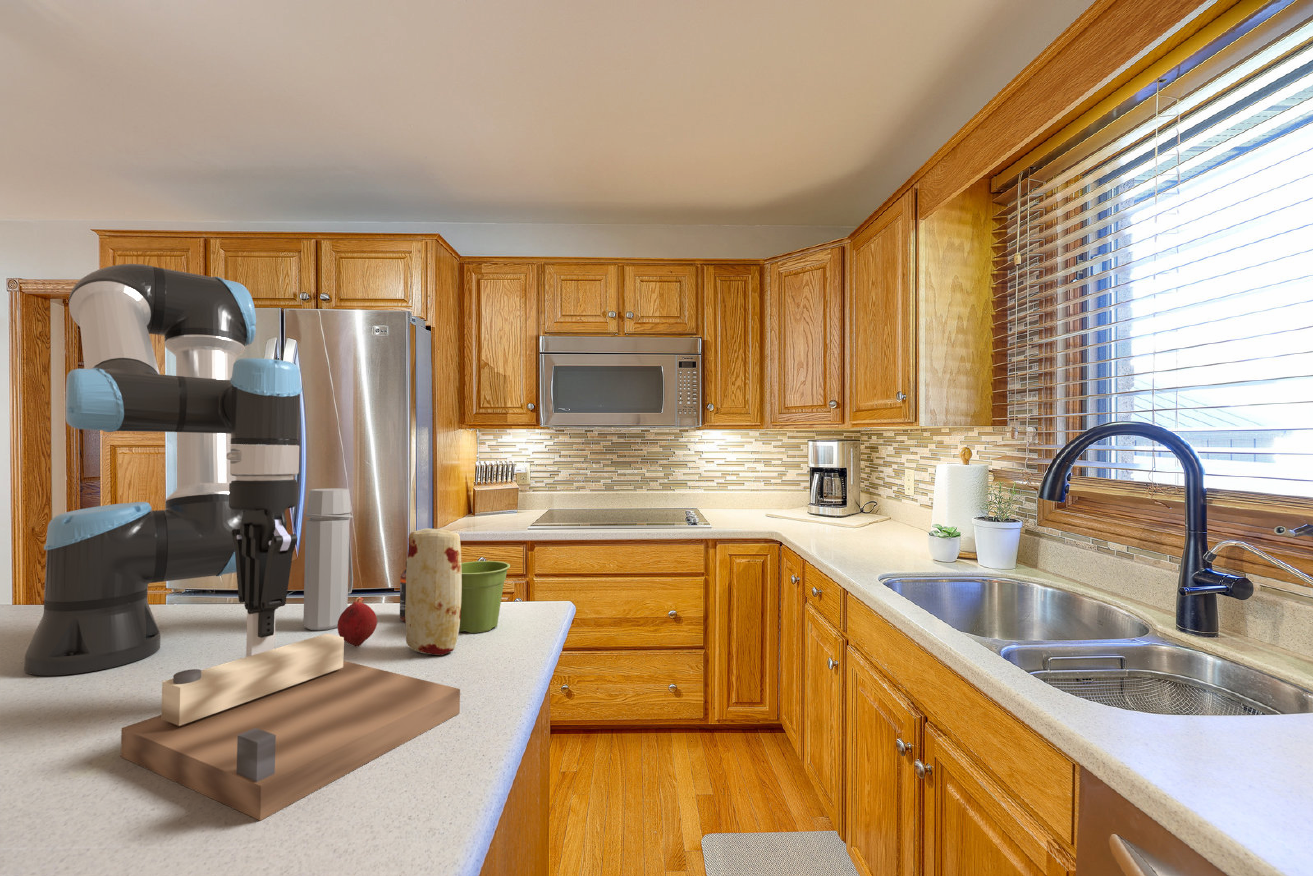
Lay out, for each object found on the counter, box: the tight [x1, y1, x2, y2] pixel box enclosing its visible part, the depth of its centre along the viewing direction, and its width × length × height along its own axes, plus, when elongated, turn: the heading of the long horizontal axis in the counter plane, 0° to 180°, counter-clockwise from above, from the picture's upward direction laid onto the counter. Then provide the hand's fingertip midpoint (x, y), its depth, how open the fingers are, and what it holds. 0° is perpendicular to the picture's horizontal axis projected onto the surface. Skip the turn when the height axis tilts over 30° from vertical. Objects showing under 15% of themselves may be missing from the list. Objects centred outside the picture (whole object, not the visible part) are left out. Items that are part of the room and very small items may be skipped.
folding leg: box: [160, 633, 345, 726], centre depth 72 cm, size 19×4×5 cm, turn 154°
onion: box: [337, 596, 378, 648], centre depth 98 cm, size 6×6×8 cm
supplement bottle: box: [399, 560, 407, 623], centre depth 114 cm, size 6×6×11 cm
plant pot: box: [459, 560, 511, 634], centre depth 109 cm, size 12×12×11 cm
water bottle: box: [302, 487, 355, 631], centre depth 110 cm, size 9×8×25 cm
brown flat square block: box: [120, 660, 461, 821], centre depth 68 cm, size 24×24×6 cm
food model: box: [405, 527, 462, 656], centre depth 96 cm, size 10×7×20 cm
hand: (260, 660), depth 77 cm, fingers closed
